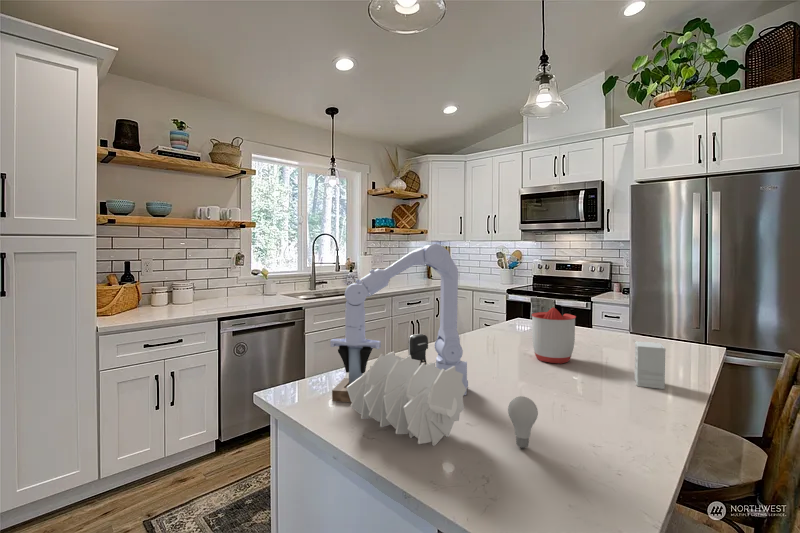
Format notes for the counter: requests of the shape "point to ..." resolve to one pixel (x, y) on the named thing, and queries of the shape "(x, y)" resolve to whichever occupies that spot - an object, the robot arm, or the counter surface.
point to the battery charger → (418, 347)
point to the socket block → (341, 391)
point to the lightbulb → (522, 418)
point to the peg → (354, 364)
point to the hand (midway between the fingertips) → (355, 372)
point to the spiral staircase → (409, 397)
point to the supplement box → (650, 364)
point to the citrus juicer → (553, 336)
